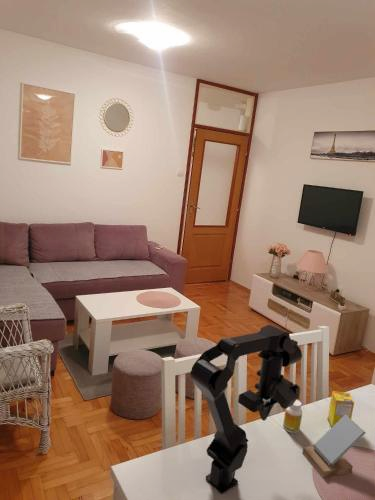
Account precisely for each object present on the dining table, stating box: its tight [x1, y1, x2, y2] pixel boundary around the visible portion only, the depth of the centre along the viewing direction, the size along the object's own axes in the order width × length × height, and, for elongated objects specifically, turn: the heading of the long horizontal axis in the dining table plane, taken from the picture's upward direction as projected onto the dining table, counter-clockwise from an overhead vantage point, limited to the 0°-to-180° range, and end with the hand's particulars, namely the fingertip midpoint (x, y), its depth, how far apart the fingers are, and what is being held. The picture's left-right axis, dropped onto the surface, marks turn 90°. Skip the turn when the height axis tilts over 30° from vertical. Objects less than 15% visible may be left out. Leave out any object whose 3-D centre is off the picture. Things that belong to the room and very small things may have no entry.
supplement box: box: [327, 390, 355, 429], centre depth 135 cm, size 6×6×11 cm
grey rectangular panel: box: [312, 414, 366, 467], centre depth 117 cm, size 1×8×14 cm
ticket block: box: [302, 445, 353, 479], centre depth 117 cm, size 10×10×2 cm
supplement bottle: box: [282, 399, 303, 434], centre depth 131 cm, size 5×5×10 cm
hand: (263, 419), depth 113 cm, fingers closed
